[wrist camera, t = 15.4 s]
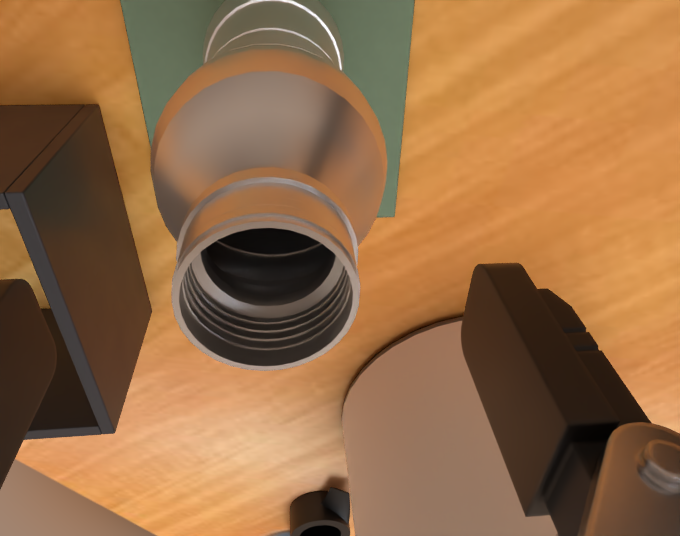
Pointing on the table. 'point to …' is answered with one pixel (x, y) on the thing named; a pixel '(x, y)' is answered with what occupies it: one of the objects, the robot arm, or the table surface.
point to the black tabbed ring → (321, 514)
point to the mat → (358, 46)
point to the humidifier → (427, 446)
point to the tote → (76, 261)
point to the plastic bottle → (268, 186)
